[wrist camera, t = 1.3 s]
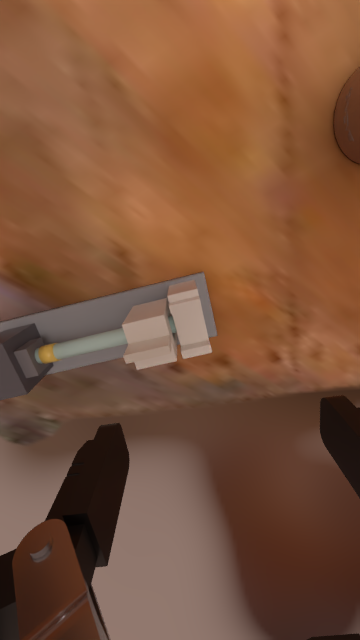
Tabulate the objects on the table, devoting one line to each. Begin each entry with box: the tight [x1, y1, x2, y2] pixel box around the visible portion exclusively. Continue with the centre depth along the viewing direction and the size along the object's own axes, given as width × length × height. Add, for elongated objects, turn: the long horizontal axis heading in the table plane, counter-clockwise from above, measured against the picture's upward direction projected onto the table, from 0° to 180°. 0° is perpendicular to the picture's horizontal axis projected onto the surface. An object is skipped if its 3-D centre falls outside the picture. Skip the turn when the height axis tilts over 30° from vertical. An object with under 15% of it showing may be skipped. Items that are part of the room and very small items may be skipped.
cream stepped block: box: [122, 298, 177, 370], centre depth 26 cm, size 4×5×9 cm
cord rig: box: [0, 272, 217, 400], centre depth 29 cm, size 26×8×7 cm, turn 104°
